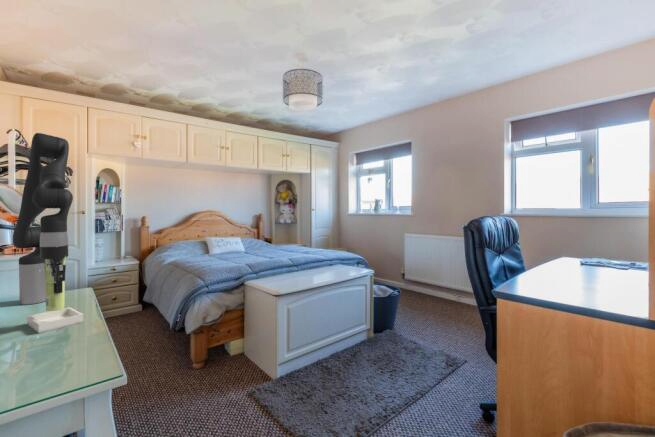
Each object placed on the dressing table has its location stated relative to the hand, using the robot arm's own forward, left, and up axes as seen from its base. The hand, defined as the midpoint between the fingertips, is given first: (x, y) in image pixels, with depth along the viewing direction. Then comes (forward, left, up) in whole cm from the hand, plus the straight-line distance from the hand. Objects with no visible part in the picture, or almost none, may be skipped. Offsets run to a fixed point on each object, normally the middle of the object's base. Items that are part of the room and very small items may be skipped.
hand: (55, 291), depth 108 cm
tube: (0, 0, -7) cm, 7 cm away
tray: (0, 0, -11) cm, 11 cm away
